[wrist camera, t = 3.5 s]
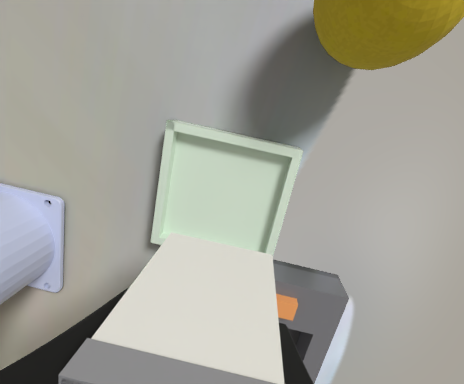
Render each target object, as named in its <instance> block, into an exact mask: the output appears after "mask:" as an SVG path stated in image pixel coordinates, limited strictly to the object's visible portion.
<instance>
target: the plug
mask: <svg viewBox="0 0 464 384" xmlns="http://www.w3.org/2000/svg"><path fill="white" fill-rule="evenodd" d="M59 384H284V373H283V363H282V352H281V341H280V331H279V320H278V309H277V299H276V288H275V278H274V267H273V256H272V255H271V254H267V253H262V252H258V251H253V250H249V249H244V248H240V247H235V246H231V245H226V244H222V243H217V242H213V241H208V240H204V239H199V238H195V237H190V236H186V235H181V234H177V233H172V232H171V233H170V235H169V236H168V237H167V238H166V240H165V241H164V242H163V244H162V245H161V246H160V248H159V249H158V250H157V252H156V253H155V254H154V256H153V257H152V258H151V260H150V261H149V262H148V264H147V265H146V266H145V268H144V269H143V270H142V272H141V273H140V274H139V276H138V277H137V278H136V280H135V281H134V282H133V284H132V285H131V286H130V287H129V289H128V290H127V291H126V293H125V294H124V295H123V297H122V298H121V299H120V301H119V302H118V303H117V305H116V306H115V307H114V309H113V310H112V311H111V313H110V314H109V315H108V317H107V318H106V319H105V321H104V322H103V323H102V325H101V326H100V327H99V329H98V330H97V331H96V333H95V334H94V335H93V337H92V338H91V339H90V338H87V339H86V340H85V341H84V343H83V344H82V345H81V347H80V348H79V349H78V351H77V352H76V353H75V354H74V356H73V357H72V358H71V360H70V361H69V362H68V363H67V365H66V366H65V367H64V369H63V370H62V371H61V373H60V374H59Z"/></svg>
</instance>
